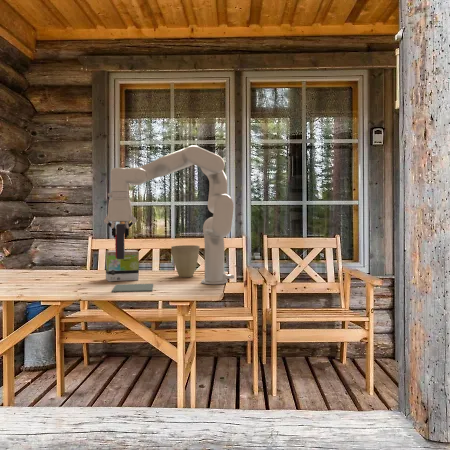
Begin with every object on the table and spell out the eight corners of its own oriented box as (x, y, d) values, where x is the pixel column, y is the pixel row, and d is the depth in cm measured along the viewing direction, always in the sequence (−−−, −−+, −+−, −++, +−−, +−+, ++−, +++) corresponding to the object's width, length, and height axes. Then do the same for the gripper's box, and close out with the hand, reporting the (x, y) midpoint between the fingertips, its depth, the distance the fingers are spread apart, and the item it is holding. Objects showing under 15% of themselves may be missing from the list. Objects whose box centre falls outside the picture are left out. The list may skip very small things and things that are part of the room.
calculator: (116, 256, 201) (115, 223, 200) (125, 256, 202) (125, 223, 201) (115, 259, 190) (114, 224, 190) (125, 259, 191) (124, 224, 190)
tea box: (108, 282, 215) (107, 251, 214) (105, 279, 224) (105, 250, 223) (139, 280, 220) (139, 250, 220) (135, 277, 229) (135, 249, 229)
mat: (153, 285, 206) (153, 283, 206) (152, 291, 190) (152, 289, 190) (116, 285, 204) (116, 284, 204) (111, 292, 188) (111, 290, 188)
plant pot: (201, 274, 240) (201, 245, 239) (197, 278, 225) (197, 247, 224) (174, 274, 241) (174, 244, 241) (168, 278, 226) (168, 247, 226)
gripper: (99, 195, 190) (99, 238, 191) (138, 195, 192) (139, 237, 193) (101, 196, 198) (102, 237, 198) (139, 196, 200) (140, 236, 200)
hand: (120, 236), depth 196 cm, fingers closed on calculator, 4 cm apart
